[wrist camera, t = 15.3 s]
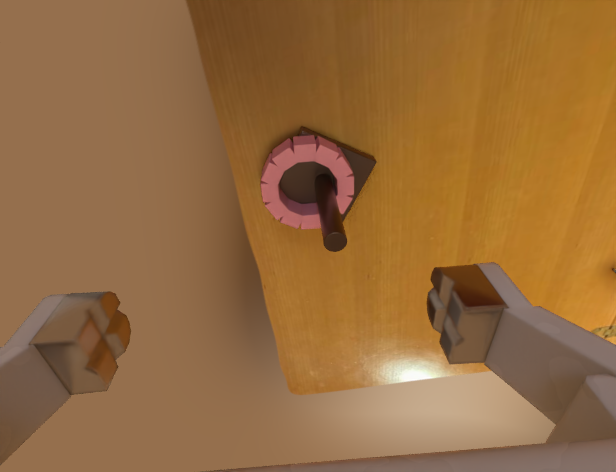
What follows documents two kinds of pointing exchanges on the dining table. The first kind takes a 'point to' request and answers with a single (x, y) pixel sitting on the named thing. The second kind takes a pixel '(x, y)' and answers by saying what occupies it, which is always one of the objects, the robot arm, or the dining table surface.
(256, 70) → the dining table surface
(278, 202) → the ring
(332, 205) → the stand
